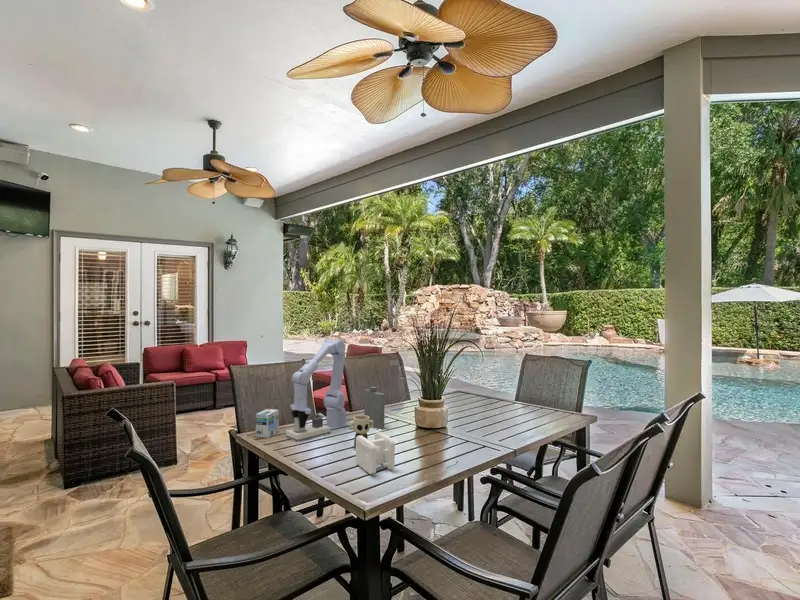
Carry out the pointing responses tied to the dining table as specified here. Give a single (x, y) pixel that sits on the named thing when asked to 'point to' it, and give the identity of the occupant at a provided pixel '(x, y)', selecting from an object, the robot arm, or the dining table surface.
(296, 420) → the plug
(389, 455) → the cable organizer
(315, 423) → the twin plug
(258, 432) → the light bulb box
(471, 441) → the dining table surface
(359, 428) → the character mug
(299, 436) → the power strip
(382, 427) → the hip flask
